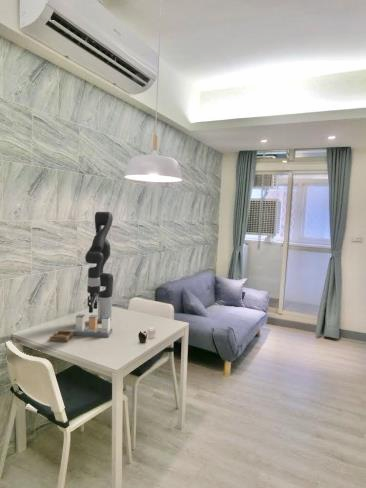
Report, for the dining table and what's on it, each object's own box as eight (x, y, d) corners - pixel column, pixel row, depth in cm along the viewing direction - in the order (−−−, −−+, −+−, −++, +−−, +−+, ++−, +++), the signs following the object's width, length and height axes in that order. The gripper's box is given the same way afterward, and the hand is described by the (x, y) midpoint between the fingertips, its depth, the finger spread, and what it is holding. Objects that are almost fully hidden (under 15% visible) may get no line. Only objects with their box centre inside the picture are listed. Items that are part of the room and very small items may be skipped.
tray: (57, 334, 194) (57, 330, 194) (73, 335, 194) (73, 331, 194) (50, 340, 184) (50, 336, 184) (67, 342, 184) (67, 337, 184)
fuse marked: (90, 329, 200) (91, 314, 200) (97, 329, 200) (97, 315, 199) (88, 331, 196) (88, 316, 196) (95, 331, 196) (95, 317, 195)
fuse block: (78, 329, 203) (78, 312, 202) (112, 331, 203) (112, 314, 202) (72, 335, 195) (72, 317, 194) (108, 337, 194) (108, 319, 193)
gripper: (91, 281, 203) (90, 307, 204) (83, 286, 189) (82, 313, 190) (103, 282, 203) (102, 307, 204) (96, 287, 189) (95, 314, 190)
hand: (93, 310), depth 197 cm, fingers open, 8 cm apart
